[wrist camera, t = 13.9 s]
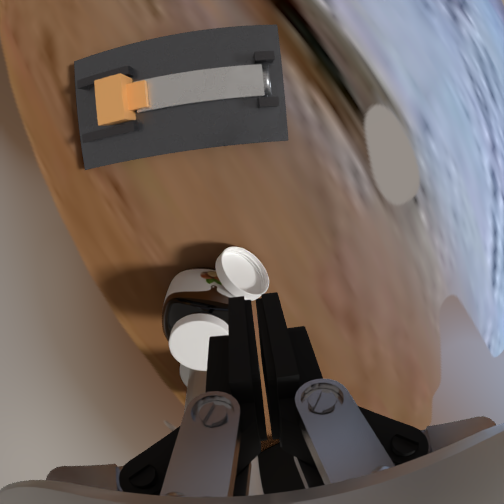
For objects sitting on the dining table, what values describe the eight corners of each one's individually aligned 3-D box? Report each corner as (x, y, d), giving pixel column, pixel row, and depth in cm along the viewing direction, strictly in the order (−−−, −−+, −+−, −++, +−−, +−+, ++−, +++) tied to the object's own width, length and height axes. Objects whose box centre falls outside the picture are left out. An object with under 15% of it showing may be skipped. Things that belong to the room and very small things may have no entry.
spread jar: (168, 308, 41) (152, 365, 31) (176, 232, 37) (156, 275, 27) (253, 321, 43) (260, 380, 32) (271, 248, 39) (286, 296, 28)
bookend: (256, 478, 63) (263, 554, 42) (224, 467, 60) (227, 551, 38) (330, 441, 58) (354, 528, 36) (301, 428, 55) (323, 527, 33)
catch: (152, 116, 30) (143, 115, 27) (112, 125, 30) (98, 125, 26) (149, 74, 28) (139, 68, 25) (108, 84, 28) (94, 80, 24)
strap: (270, 95, 30) (272, 94, 29) (139, 112, 30) (136, 112, 29) (268, 65, 29) (269, 63, 28) (136, 82, 28) (134, 81, 27)
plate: (285, 139, 34) (291, 141, 31) (90, 168, 33) (77, 172, 30) (275, 28, 28) (279, 19, 25) (79, 63, 28) (66, 58, 25)
